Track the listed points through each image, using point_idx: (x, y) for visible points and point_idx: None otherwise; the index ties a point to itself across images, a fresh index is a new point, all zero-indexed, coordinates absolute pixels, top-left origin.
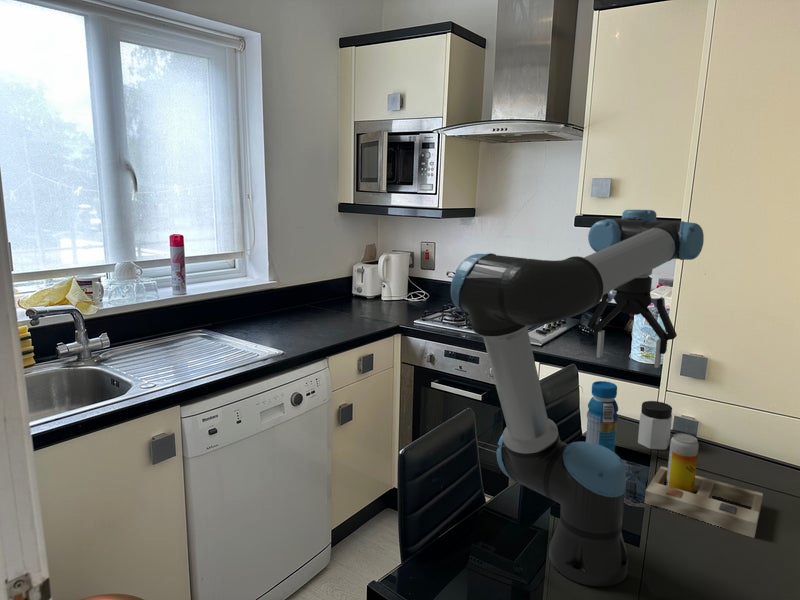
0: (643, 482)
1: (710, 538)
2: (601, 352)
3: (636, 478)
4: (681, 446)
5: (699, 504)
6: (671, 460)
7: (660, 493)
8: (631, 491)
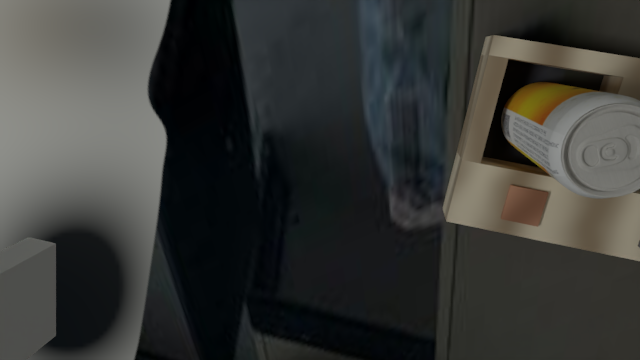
0: (438, 86)
1: (588, 298)
2: (23, 310)
3: (418, 70)
4: (585, 196)
5: (587, 238)
6: (534, 160)
7: (485, 221)
8: (408, 155)
